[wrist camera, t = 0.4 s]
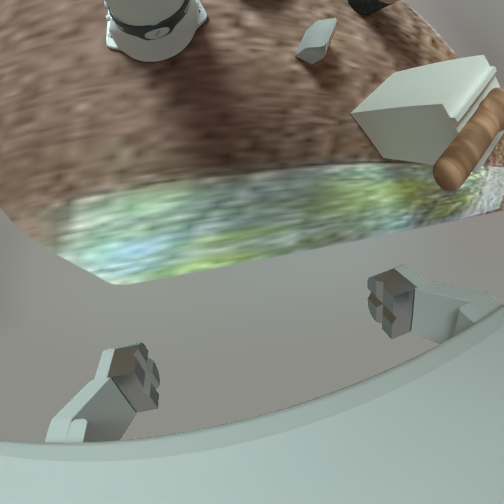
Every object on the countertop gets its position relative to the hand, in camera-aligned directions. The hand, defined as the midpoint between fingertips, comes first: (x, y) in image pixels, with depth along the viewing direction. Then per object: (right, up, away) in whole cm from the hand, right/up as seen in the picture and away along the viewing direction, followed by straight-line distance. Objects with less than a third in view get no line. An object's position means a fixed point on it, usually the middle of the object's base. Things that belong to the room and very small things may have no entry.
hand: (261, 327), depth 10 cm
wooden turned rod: (+30, +19, +22) cm, 42 cm away
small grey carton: (+11, +42, +39) cm, 58 cm away
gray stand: (+29, +32, +46) cm, 63 cm away
